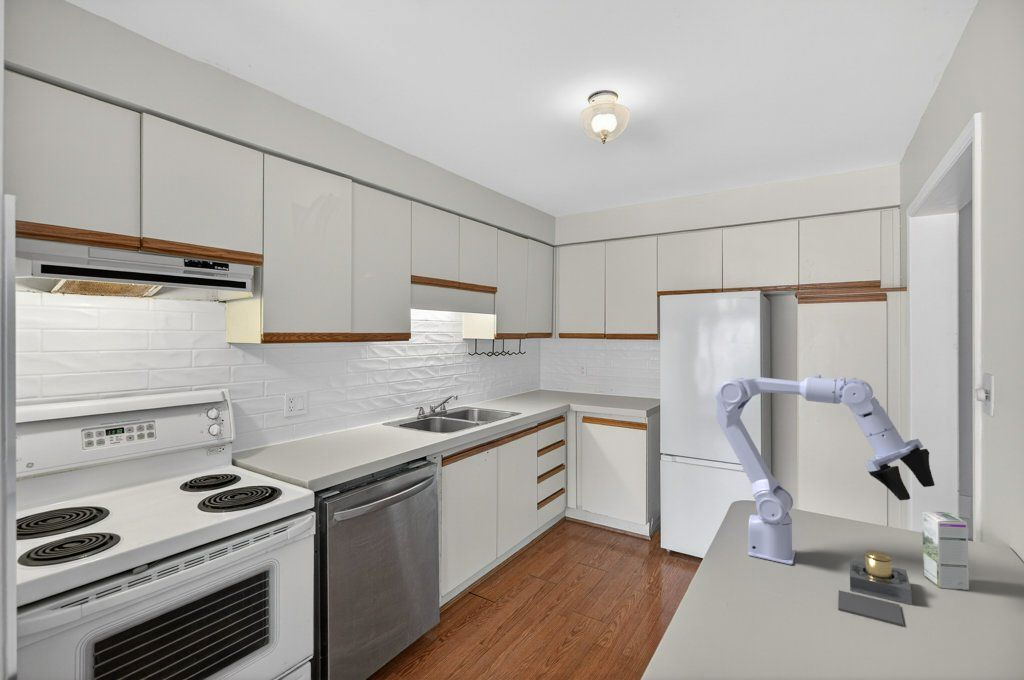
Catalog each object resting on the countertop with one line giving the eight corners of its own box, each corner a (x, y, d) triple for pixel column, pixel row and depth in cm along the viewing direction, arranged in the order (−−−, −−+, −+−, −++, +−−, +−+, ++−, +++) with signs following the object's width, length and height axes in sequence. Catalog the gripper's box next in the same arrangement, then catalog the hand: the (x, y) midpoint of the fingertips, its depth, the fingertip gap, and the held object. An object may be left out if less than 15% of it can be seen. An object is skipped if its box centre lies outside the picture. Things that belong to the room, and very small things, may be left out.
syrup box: (970, 590, 102) (970, 521, 102) (937, 588, 103) (937, 520, 103) (951, 577, 108) (951, 512, 108) (921, 575, 109) (920, 510, 109)
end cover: (866, 588, 103) (865, 555, 103) (865, 580, 107) (865, 548, 107) (892, 594, 101) (892, 561, 101) (890, 585, 105) (890, 553, 104)
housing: (850, 590, 103) (850, 576, 103) (849, 571, 111) (849, 558, 111) (911, 604, 97) (911, 589, 97) (906, 583, 105) (905, 569, 105)
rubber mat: (838, 609, 95) (838, 607, 95) (838, 592, 102) (838, 590, 102) (903, 626, 90) (903, 624, 90) (899, 606, 96) (899, 604, 96)
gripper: (872, 439, 100) (911, 504, 96) (919, 416, 104) (959, 478, 100) (844, 445, 106) (880, 506, 102) (890, 423, 111) (926, 481, 107)
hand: (917, 492), depth 102 cm, fingers open, 7 cm apart
